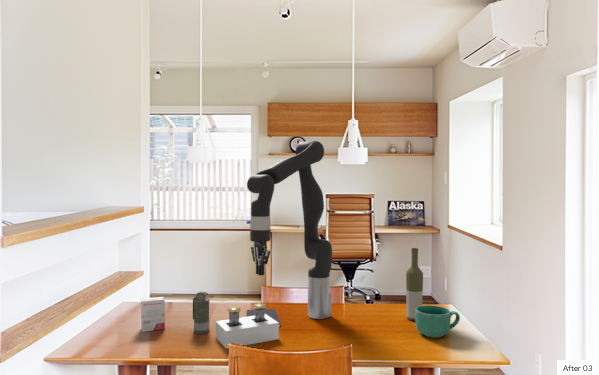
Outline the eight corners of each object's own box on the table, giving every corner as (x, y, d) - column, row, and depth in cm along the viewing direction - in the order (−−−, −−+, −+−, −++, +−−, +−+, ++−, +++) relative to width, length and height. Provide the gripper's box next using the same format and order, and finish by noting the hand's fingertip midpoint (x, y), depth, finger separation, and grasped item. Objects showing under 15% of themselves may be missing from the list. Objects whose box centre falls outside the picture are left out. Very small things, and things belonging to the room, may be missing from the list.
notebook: (246, 313, 188) (248, 329, 167) (246, 309, 188) (248, 325, 167) (275, 312, 190) (280, 328, 169) (275, 308, 190) (280, 324, 169)
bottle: (425, 321, 177) (426, 249, 176) (408, 322, 176) (409, 249, 176) (419, 316, 184) (419, 247, 183) (403, 316, 183) (403, 247, 183)
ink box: (164, 325, 169) (164, 296, 169) (165, 329, 165) (165, 299, 165) (141, 328, 166) (141, 298, 166) (141, 332, 162) (141, 301, 162)
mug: (419, 340, 156) (419, 314, 156) (412, 328, 168) (412, 304, 168) (465, 341, 155) (465, 315, 155) (455, 329, 167) (455, 305, 167)
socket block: (265, 329, 166) (265, 313, 166) (278, 339, 156) (278, 322, 156) (215, 337, 157) (215, 321, 157) (226, 348, 146) (226, 331, 146)
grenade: (212, 329, 165) (212, 291, 165) (204, 334, 160) (204, 295, 159) (198, 327, 167) (198, 289, 167) (189, 332, 162) (189, 293, 161)
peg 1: (238, 323, 157) (238, 306, 157) (242, 327, 153) (242, 309, 153) (226, 325, 155) (226, 307, 155) (230, 329, 151) (230, 311, 151)
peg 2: (263, 319, 162) (263, 302, 162) (267, 323, 158) (268, 305, 158) (251, 321, 160) (251, 304, 159) (256, 324, 155) (256, 307, 155)
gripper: (277, 229, 154) (277, 277, 154) (262, 226, 166) (262, 270, 166) (258, 230, 150) (257, 279, 151) (244, 226, 163) (244, 272, 163)
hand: (260, 274), depth 158 cm, fingers closed
